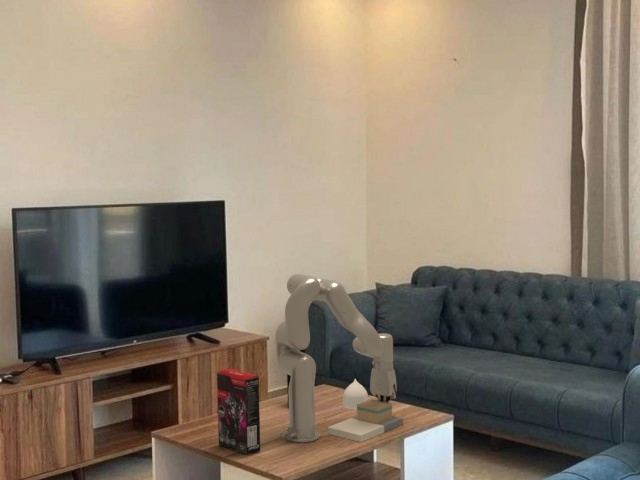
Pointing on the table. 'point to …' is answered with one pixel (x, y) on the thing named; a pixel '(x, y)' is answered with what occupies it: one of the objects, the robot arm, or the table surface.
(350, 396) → the teardrop
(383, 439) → the table surface
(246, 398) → the graphics card box
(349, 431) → the grey and cream slab
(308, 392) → the robot arm
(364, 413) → the carton
